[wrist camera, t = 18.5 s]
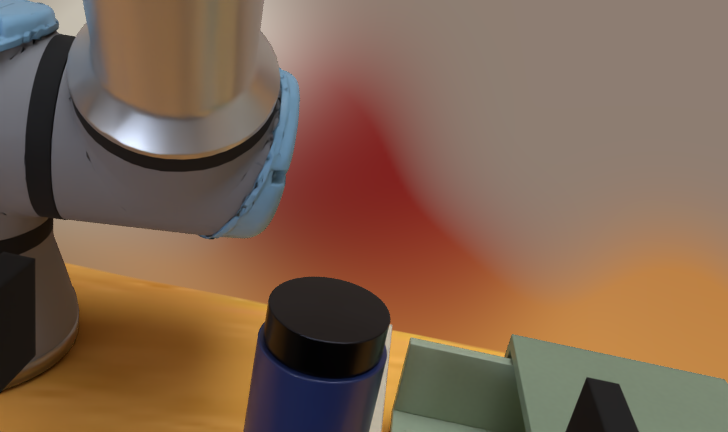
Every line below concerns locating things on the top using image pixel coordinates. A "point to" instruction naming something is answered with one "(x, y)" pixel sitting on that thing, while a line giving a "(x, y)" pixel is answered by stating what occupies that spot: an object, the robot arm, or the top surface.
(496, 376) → the drawer
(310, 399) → the flask
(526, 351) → the cabinet
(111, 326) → the top surface
